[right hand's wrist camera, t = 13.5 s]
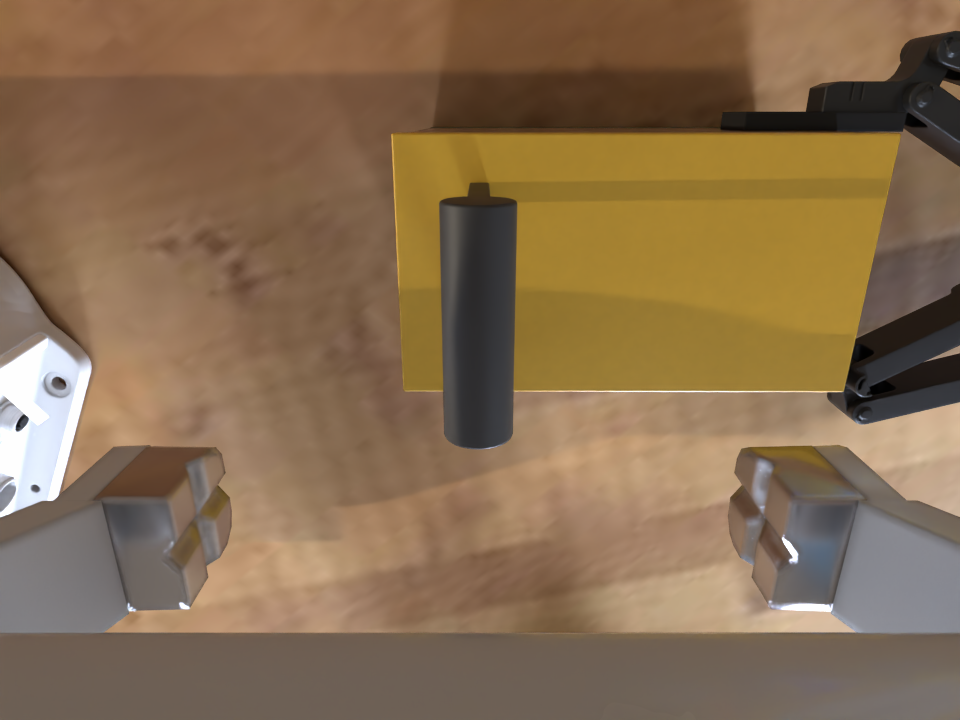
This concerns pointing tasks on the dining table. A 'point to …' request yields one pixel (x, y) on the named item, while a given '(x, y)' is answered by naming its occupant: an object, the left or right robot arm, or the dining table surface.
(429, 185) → the lid
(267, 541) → the dining table surface
